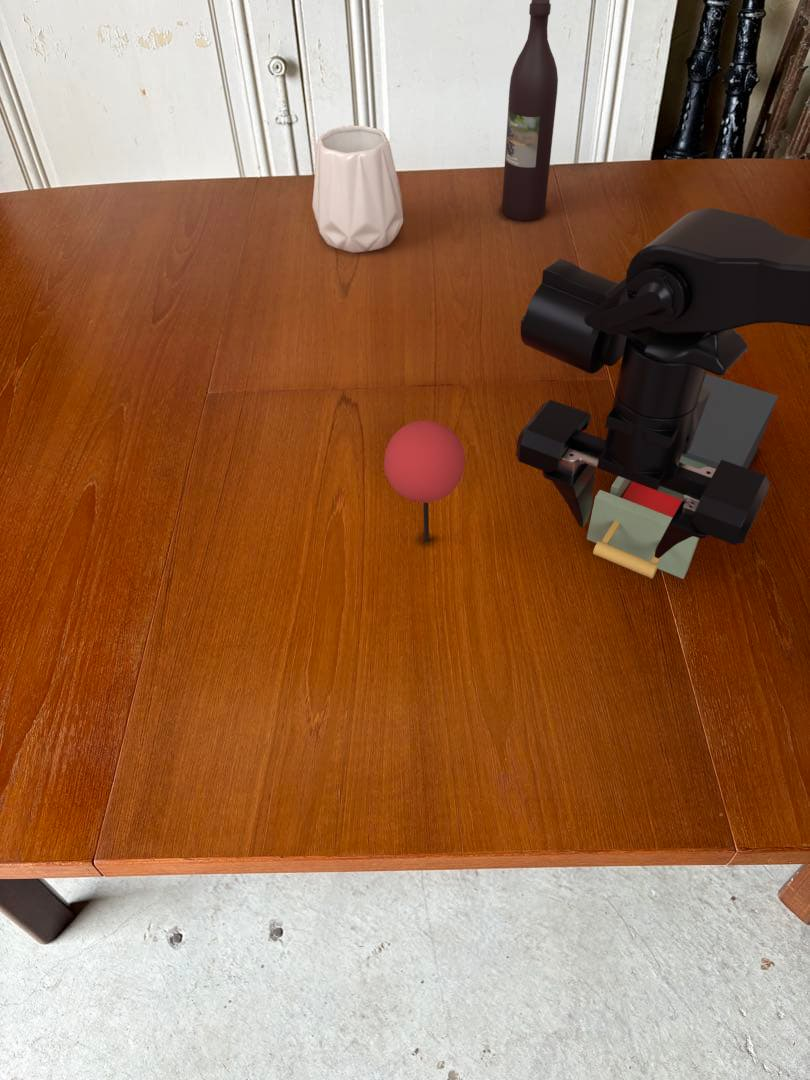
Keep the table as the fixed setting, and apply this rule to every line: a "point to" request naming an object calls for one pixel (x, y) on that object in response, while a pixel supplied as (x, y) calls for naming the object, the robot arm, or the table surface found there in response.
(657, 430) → the robot arm
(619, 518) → the drawer
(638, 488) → the red rectangular block
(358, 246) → the vase
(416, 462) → the lollipop
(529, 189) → the wine bottle
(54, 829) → the table surface
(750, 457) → the cabinet
